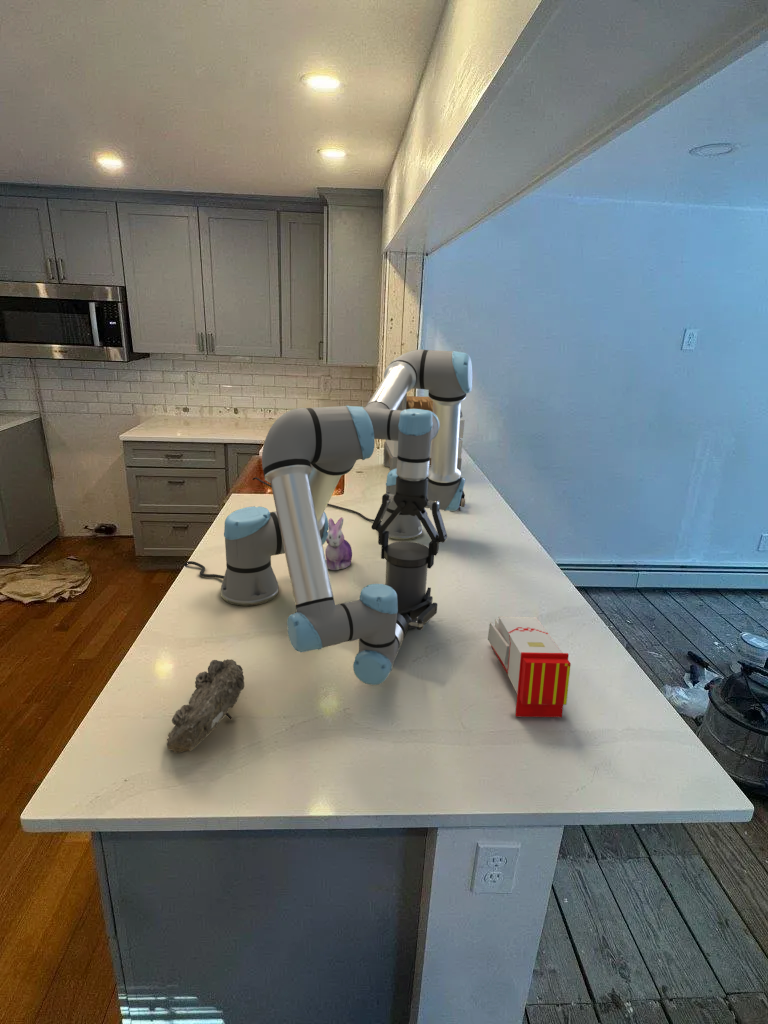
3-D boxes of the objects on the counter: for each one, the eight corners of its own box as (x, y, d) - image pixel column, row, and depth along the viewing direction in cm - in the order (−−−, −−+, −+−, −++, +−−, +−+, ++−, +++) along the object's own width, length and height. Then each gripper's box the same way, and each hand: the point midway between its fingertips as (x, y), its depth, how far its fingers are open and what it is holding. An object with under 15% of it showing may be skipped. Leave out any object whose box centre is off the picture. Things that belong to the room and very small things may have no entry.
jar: (412, 633, 139) (416, 565, 133) (376, 621, 144) (379, 555, 137) (430, 615, 147) (435, 551, 141) (395, 604, 152) (399, 541, 146)
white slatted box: (382, 463, 289) (386, 382, 275) (445, 464, 293) (451, 384, 279) (390, 482, 257) (394, 392, 243) (460, 483, 261) (468, 394, 247)
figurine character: (465, 515, 224) (460, 499, 237) (467, 498, 221) (462, 483, 234) (448, 515, 224) (444, 499, 237) (450, 498, 220) (445, 482, 234)
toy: (534, 602, 136) (579, 659, 107) (529, 653, 139) (572, 723, 110) (484, 601, 136) (516, 658, 107) (480, 652, 139) (510, 722, 109)
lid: (436, 553, 143) (437, 546, 142) (421, 571, 133) (422, 564, 132) (394, 544, 147) (395, 538, 146) (376, 561, 137) (376, 554, 136)
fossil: (192, 660, 117) (244, 628, 112) (224, 691, 120) (276, 661, 115) (142, 746, 98) (202, 712, 93) (182, 779, 101) (242, 748, 96)
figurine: (330, 573, 167) (330, 526, 162) (317, 560, 176) (317, 515, 171) (359, 568, 172) (360, 522, 167) (345, 555, 180) (346, 511, 175)
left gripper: (339, 638, 131) (365, 595, 151) (436, 656, 126) (450, 608, 146) (339, 609, 128) (366, 569, 148) (439, 626, 123) (453, 582, 143)
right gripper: (465, 479, 132) (457, 564, 139) (371, 466, 140) (368, 547, 147) (457, 488, 125) (449, 577, 133) (359, 473, 133) (357, 558, 141)
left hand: (408, 588), depth 147 cm, fingers closed on jar, 10 cm apart
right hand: (407, 561), depth 140 cm, fingers closed on lid, 11 cm apart
